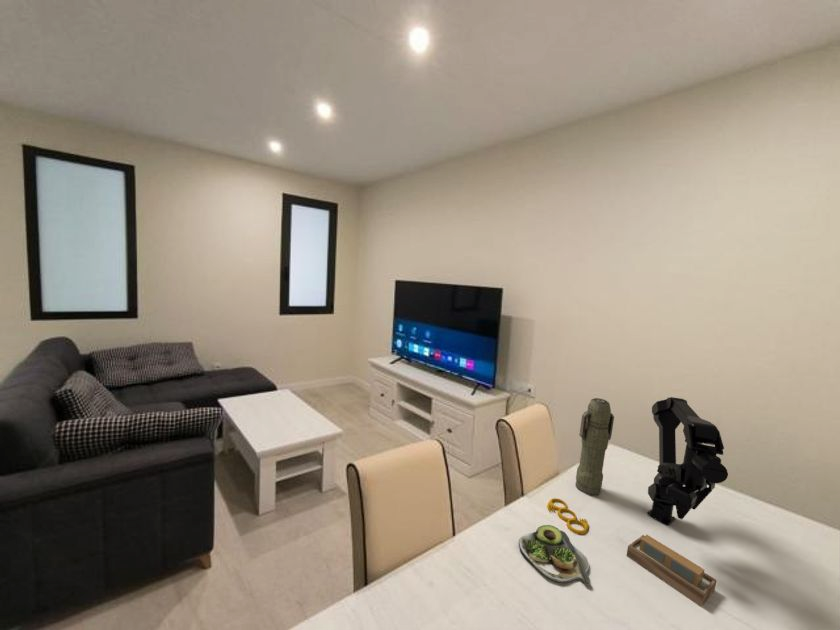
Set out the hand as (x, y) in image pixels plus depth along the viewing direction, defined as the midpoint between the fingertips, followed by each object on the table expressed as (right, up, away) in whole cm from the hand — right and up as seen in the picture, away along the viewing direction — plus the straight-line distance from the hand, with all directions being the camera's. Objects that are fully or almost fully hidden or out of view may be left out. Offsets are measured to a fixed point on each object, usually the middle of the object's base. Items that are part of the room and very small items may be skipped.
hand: (686, 513), depth 105 cm
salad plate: (-42, -10, -4) cm, 43 cm away
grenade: (-15, -7, +30) cm, 34 cm away
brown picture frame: (-11, -12, -7) cm, 18 cm away
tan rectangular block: (-10, -10, -8) cm, 16 cm away
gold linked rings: (-30, -9, +13) cm, 34 cm away
